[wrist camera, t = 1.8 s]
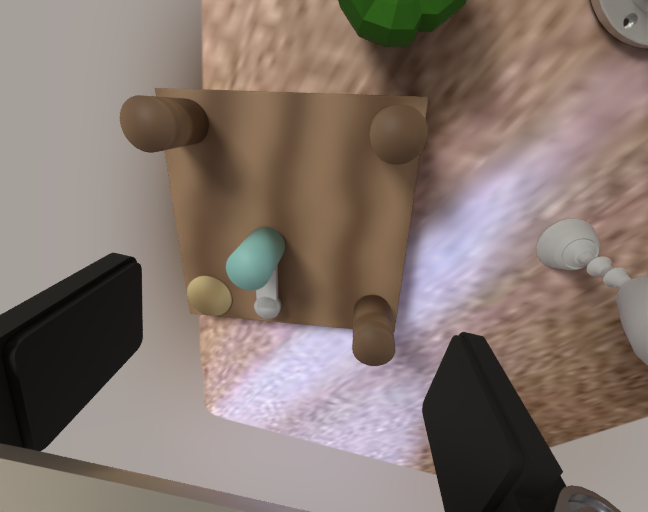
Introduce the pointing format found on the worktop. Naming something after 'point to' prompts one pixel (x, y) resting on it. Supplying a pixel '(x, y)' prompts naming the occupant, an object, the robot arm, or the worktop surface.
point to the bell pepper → (397, 18)
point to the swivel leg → (259, 268)
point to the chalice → (599, 274)
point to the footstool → (292, 198)
